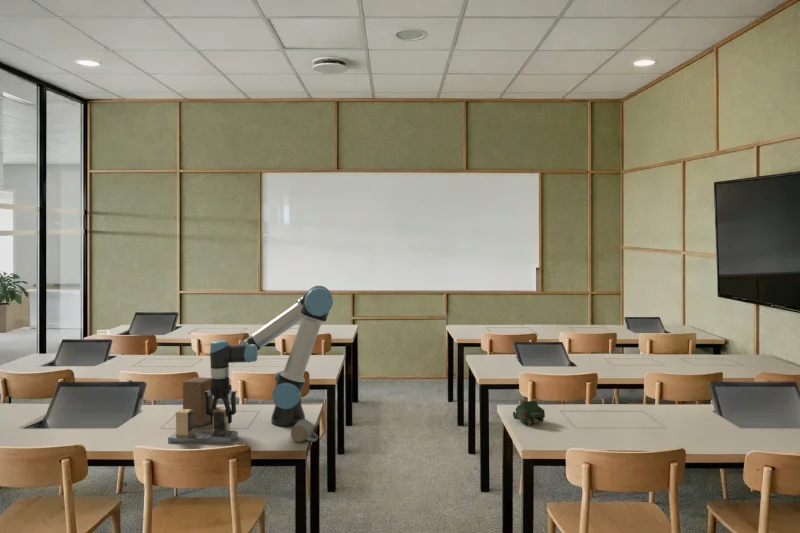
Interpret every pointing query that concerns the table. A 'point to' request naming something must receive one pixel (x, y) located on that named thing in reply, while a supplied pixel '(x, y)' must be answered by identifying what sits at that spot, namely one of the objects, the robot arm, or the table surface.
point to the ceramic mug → (303, 431)
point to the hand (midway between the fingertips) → (221, 430)
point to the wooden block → (197, 398)
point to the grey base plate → (189, 436)
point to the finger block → (219, 418)
